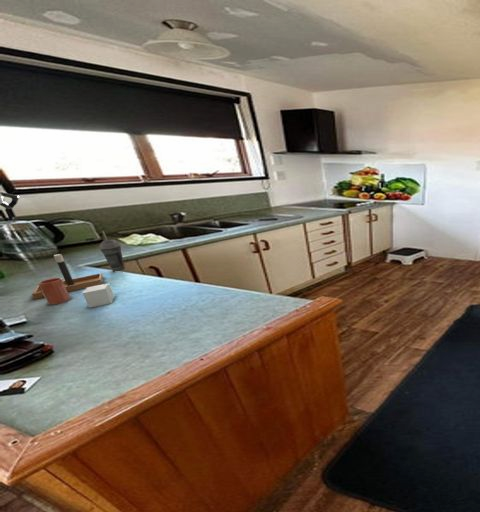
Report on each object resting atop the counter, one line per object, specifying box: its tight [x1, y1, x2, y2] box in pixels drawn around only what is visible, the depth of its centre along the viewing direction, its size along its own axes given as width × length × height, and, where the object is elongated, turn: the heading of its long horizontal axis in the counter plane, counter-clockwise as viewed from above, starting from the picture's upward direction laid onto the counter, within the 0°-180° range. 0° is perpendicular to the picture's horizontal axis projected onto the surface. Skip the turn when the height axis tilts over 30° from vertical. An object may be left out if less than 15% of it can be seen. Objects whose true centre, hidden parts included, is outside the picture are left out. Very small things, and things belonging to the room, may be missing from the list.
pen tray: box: [31, 272, 104, 300], centre depth 115 cm, size 19×10×2 cm, turn 134°
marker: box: [53, 253, 75, 286], centre depth 113 cm, size 2×2×14 cm
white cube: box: [82, 282, 115, 309], centre depth 101 cm, size 6×6×6 cm
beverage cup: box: [99, 230, 126, 273], centre depth 131 cm, size 7×7×20 cm
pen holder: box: [37, 277, 72, 305], centre depth 102 cm, size 6×6×8 cm
